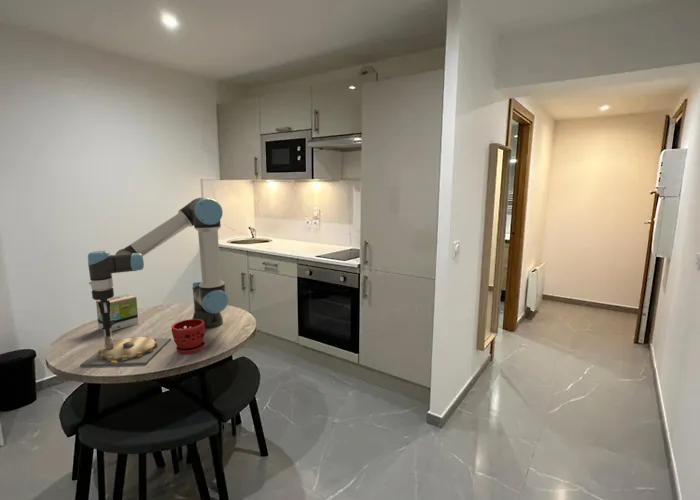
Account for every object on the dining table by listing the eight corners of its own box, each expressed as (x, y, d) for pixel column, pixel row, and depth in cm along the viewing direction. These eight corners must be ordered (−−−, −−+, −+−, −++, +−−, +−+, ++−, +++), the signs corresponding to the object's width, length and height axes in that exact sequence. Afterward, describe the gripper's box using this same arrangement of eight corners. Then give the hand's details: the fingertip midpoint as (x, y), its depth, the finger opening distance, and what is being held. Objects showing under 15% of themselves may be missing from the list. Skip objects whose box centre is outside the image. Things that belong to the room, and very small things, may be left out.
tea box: (108, 333, 185) (105, 303, 183) (98, 329, 190) (94, 300, 188) (139, 323, 198) (136, 296, 195) (128, 320, 203) (126, 293, 201)
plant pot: (200, 341, 175) (198, 316, 173) (210, 350, 165) (208, 324, 163) (170, 348, 167) (167, 322, 165) (178, 359, 157) (176, 331, 155)
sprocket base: (170, 340, 176) (170, 336, 176) (146, 364, 152) (145, 360, 151) (114, 341, 174) (114, 338, 174) (80, 366, 150) (79, 363, 150)
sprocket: (159, 336, 177) (158, 323, 176) (155, 355, 157) (153, 340, 156) (104, 343, 169) (103, 329, 168) (92, 364, 149) (90, 349, 148)
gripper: (90, 286, 160) (97, 339, 164) (92, 293, 150) (99, 350, 154) (111, 283, 164) (117, 335, 169) (114, 290, 154) (120, 345, 158)
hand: (108, 342), depth 161 cm, fingers closed
